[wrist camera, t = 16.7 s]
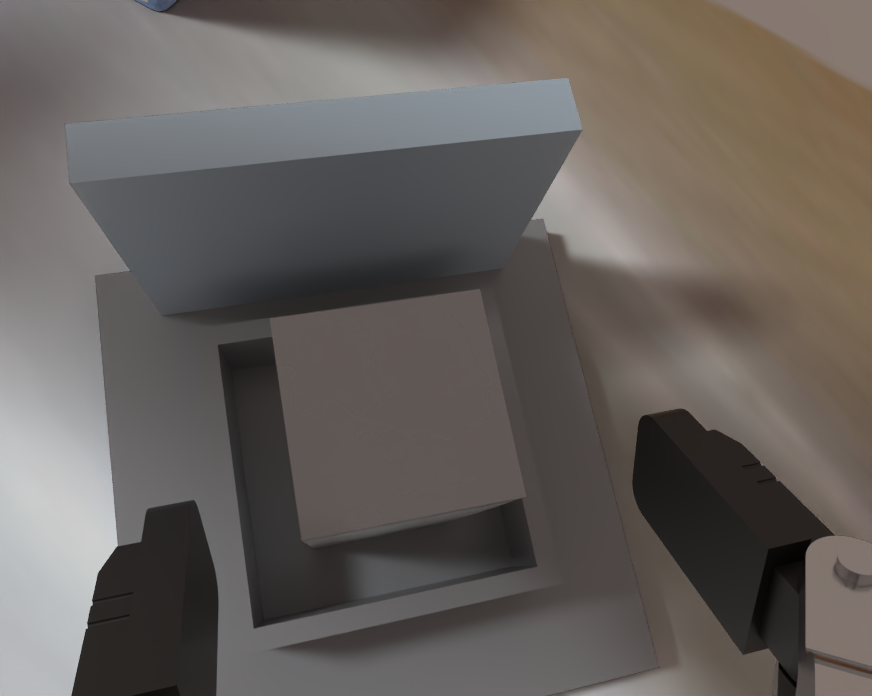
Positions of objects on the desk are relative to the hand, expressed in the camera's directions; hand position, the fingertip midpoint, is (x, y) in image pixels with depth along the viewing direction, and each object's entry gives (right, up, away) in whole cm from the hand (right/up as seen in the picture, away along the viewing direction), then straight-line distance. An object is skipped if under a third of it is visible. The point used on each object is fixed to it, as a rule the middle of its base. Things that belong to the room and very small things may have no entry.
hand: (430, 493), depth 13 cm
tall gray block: (-2, -1, +11) cm, 11 cm away
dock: (-2, -2, +12) cm, 12 cm away
